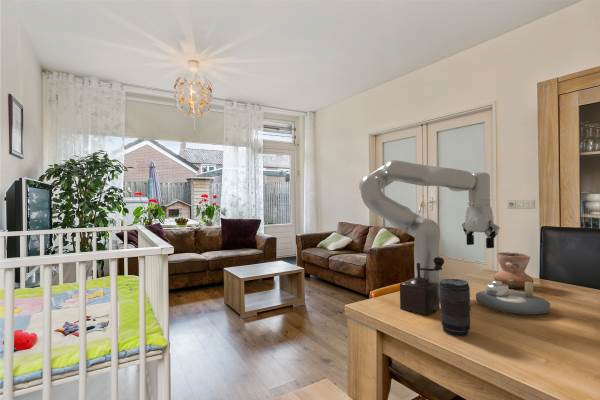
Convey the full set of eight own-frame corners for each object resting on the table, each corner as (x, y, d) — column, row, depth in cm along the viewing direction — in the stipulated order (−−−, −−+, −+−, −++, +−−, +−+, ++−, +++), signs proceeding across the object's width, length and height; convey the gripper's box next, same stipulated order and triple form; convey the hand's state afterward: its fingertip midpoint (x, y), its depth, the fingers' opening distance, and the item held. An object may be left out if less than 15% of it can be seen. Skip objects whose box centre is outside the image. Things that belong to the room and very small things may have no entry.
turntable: (515, 317, 98) (515, 296, 98) (462, 297, 119) (461, 280, 119) (567, 309, 104) (566, 290, 104) (507, 291, 125) (506, 275, 125)
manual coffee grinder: (429, 316, 104) (428, 263, 104) (399, 309, 112) (398, 259, 112) (447, 305, 115) (446, 256, 115) (419, 299, 123) (418, 253, 123)
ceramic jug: (529, 293, 127) (529, 258, 127) (489, 286, 138) (489, 254, 138) (537, 285, 140) (537, 253, 140) (499, 279, 150) (499, 250, 150)
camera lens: (444, 324, 98) (443, 276, 98) (473, 330, 93) (472, 280, 93) (436, 333, 92) (435, 282, 92) (467, 340, 86) (466, 286, 87)
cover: (498, 297, 113) (497, 284, 113) (482, 292, 119) (481, 280, 120) (513, 295, 115) (512, 282, 115) (496, 291, 121) (496, 278, 121)
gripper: (455, 203, 132) (455, 244, 132) (490, 203, 115) (491, 250, 115) (469, 203, 134) (470, 243, 134) (506, 203, 117) (506, 249, 117)
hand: (479, 246), depth 125 cm, fingers open, 9 cm apart
